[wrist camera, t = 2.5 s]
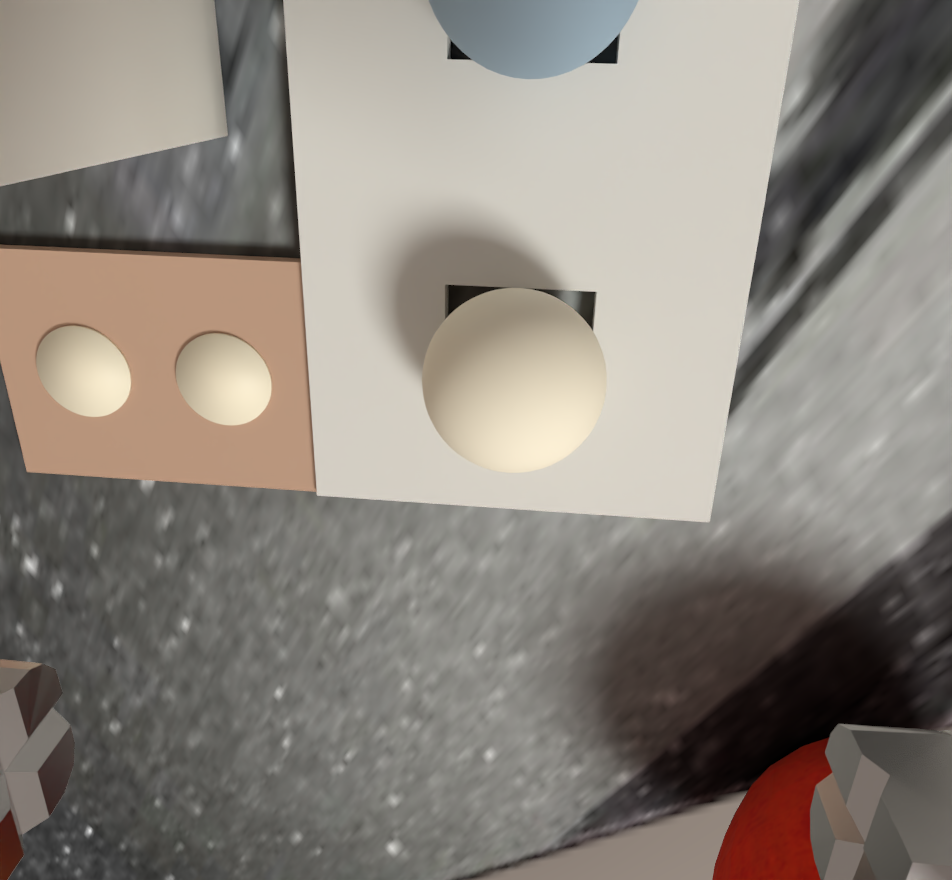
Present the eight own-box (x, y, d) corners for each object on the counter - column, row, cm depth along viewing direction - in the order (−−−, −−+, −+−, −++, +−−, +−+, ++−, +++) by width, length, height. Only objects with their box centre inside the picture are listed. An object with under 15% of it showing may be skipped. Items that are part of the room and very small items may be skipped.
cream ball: (610, 272, 18) (622, 324, 15) (594, 431, 20) (602, 513, 16) (435, 264, 19) (405, 313, 15) (435, 422, 20) (408, 500, 17)
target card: (308, 258, 19) (302, 263, 18) (323, 484, 21) (318, 493, 21) (-17, 244, 19) (-30, 248, 19) (35, 464, 22) (24, 473, 22)
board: (273, -295, 15) (261, -308, 14) (841, -298, 14) (853, -312, 13) (323, 484, 21) (316, 495, 21) (705, 510, 21) (709, 522, 20)
